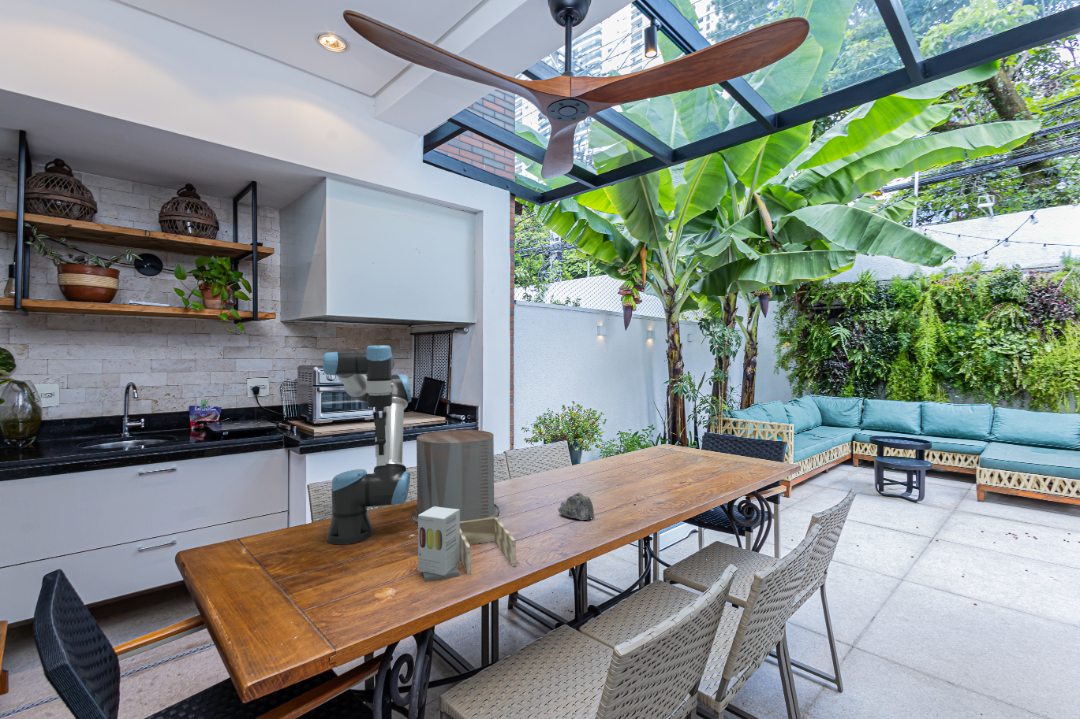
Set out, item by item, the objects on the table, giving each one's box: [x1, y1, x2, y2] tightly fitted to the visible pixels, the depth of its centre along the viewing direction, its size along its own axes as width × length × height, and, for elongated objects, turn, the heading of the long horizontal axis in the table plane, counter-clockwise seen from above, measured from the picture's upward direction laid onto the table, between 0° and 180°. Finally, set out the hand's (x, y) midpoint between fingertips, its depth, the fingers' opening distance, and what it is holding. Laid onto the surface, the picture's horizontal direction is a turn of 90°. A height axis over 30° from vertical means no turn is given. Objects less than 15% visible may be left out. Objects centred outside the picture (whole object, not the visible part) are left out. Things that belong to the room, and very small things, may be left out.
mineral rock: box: [557, 492, 595, 521], centre depth 193 cm, size 13×11×10 cm
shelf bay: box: [460, 517, 517, 575], centre depth 157 cm, size 23×15×8 cm, turn 20°
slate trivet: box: [421, 565, 460, 583], centre depth 146 cm, size 10×10×1 cm
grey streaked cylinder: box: [411, 429, 500, 526], centre depth 196 cm, size 35×35×32 cm
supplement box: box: [417, 506, 461, 576], centre depth 146 cm, size 10×9×17 cm
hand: (380, 460), depth 154 cm, fingers open, 13 cm apart
